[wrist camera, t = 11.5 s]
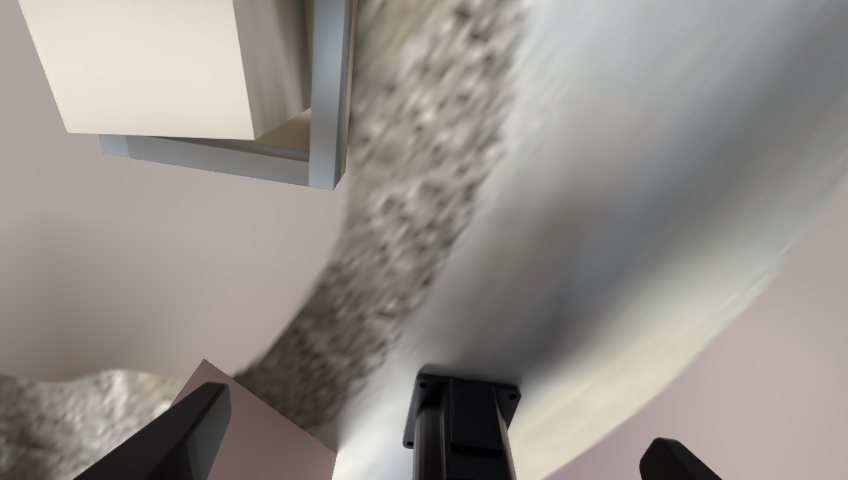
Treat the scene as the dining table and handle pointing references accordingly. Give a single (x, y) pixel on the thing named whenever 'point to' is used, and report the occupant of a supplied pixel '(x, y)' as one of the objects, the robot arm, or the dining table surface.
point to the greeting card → (261, 438)
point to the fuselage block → (174, 65)
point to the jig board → (293, 140)
